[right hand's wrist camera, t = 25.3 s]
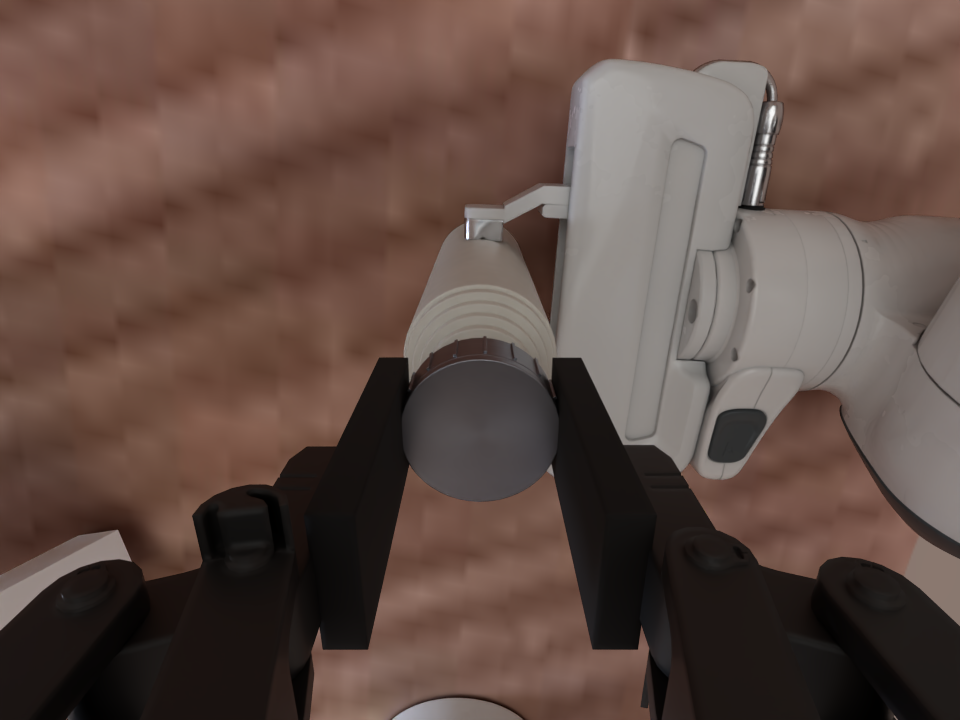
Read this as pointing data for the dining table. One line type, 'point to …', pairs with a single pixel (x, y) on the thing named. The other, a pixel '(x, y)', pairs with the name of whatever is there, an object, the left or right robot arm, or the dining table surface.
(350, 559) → the right robot arm
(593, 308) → the left robot arm
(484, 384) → the cap
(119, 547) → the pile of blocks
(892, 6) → the dining table surface
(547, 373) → the bottle
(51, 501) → the dining table surface
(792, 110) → the dining table surface
